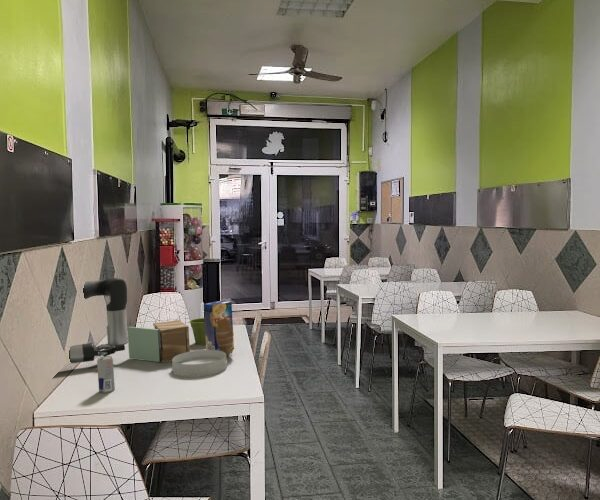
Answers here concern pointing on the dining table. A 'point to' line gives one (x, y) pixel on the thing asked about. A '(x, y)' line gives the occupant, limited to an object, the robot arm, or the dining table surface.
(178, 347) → the oak storage box
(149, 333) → the box flap
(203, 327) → the plant pot
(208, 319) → the beverage box
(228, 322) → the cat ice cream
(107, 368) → the energy drink
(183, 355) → the dish
